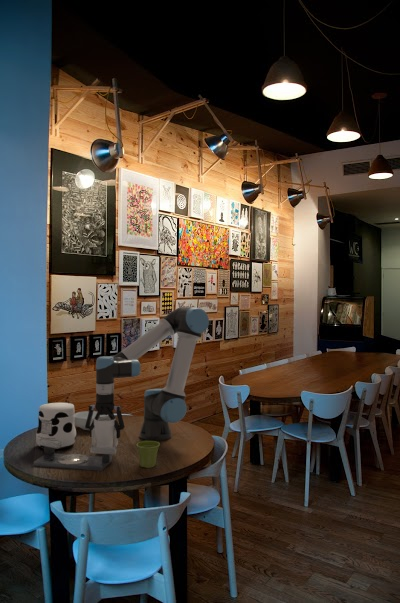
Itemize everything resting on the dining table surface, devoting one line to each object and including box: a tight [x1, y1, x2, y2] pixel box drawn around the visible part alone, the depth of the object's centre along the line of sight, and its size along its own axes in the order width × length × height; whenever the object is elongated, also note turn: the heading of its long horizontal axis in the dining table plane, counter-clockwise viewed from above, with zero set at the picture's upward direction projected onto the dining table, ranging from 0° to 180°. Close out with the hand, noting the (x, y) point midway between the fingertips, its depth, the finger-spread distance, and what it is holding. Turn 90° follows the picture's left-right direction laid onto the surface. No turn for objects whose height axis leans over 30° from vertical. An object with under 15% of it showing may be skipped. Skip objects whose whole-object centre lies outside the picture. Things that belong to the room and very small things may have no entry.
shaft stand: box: [32, 438, 117, 472], centre depth 198 cm, size 34×13×7 cm, turn 83°
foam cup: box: [94, 415, 117, 446], centre depth 211 cm, size 10×9×13 cm
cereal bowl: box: [74, 410, 108, 431], centre depth 251 cm, size 17×17×7 cm
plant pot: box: [136, 440, 161, 469], centre depth 197 cm, size 9×9×9 cm
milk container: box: [35, 402, 77, 450], centre depth 219 cm, size 17×17×18 cm
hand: (104, 445), depth 211 cm, fingers closed on foam cup, 9 cm apart
